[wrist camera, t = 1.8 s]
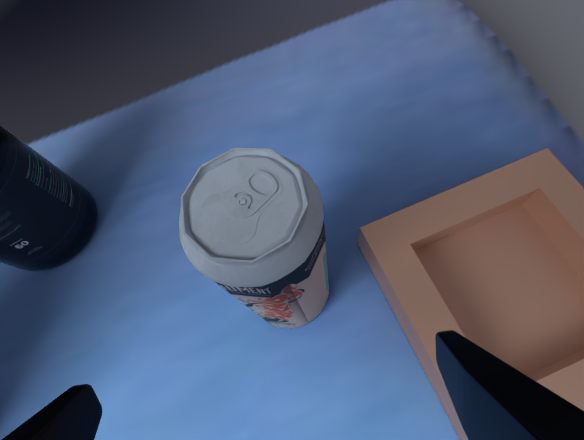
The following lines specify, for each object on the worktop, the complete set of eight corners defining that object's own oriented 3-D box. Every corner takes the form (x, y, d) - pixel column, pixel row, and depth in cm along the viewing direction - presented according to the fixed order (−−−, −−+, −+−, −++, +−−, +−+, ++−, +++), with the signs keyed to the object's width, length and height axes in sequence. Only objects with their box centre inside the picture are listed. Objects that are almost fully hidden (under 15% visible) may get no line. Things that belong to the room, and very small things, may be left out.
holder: (678, 353, 18) (730, 350, 15) (467, 453, 17) (488, 466, 15) (525, 171, 23) (547, 147, 20) (357, 243, 22) (359, 227, 20)
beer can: (236, 292, 22) (134, 209, 11) (288, 237, 23) (243, 111, 12) (292, 347, 20) (240, 316, 9) (345, 285, 21) (356, 190, 10)
